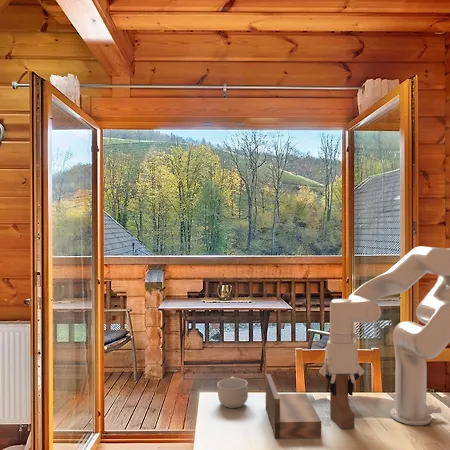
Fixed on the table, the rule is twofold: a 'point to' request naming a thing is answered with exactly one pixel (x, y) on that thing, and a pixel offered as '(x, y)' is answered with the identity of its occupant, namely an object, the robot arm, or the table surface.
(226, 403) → the teacup
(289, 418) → the walnut shelf
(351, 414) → the wooden block
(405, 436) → the table surface
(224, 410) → the table surface
